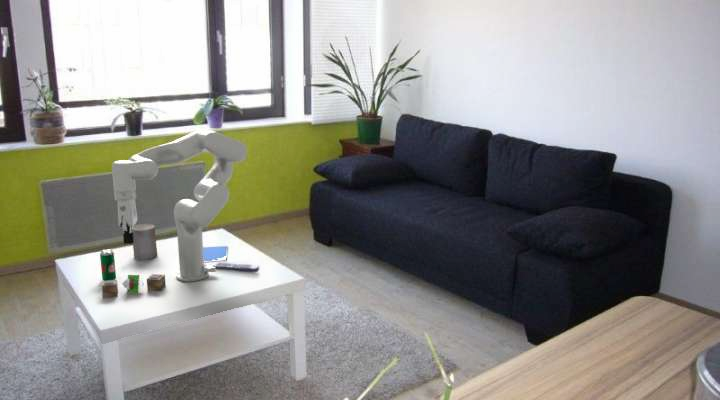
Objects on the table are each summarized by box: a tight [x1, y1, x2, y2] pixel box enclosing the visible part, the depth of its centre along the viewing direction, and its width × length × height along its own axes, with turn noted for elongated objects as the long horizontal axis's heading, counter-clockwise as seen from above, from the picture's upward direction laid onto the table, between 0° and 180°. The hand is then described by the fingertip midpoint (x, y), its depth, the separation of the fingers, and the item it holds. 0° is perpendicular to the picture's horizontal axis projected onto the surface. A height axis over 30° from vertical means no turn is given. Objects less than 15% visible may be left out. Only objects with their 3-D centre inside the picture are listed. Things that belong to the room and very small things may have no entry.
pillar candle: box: [132, 223, 158, 261], centre depth 279 cm, size 10×10×15 cm
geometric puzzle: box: [121, 274, 145, 294], centre depth 241 cm, size 7×7×8 cm
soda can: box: [99, 248, 117, 281], centre depth 252 cm, size 5×5×12 cm
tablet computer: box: [203, 245, 228, 261], centre depth 283 cm, size 19×13×1 cm, turn 10°
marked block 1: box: [101, 279, 119, 299], centre depth 238 cm, size 5×5×5 cm
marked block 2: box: [146, 273, 167, 293], centre depth 244 cm, size 5×5×5 cm
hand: (128, 242), depth 236 cm, fingers closed
